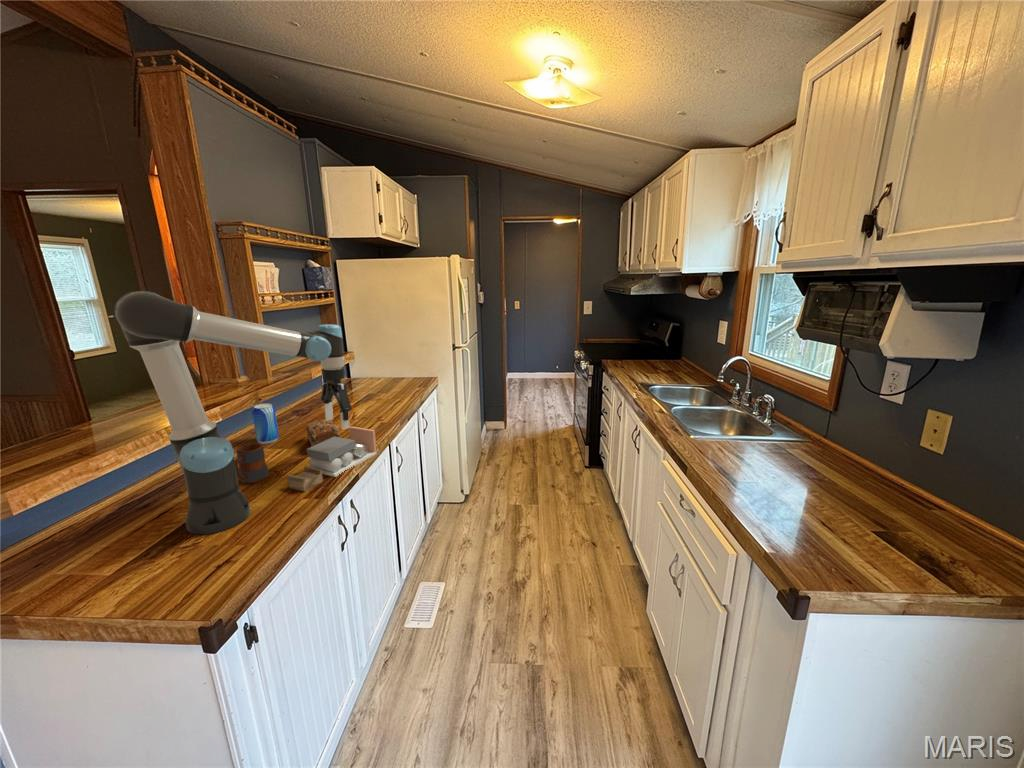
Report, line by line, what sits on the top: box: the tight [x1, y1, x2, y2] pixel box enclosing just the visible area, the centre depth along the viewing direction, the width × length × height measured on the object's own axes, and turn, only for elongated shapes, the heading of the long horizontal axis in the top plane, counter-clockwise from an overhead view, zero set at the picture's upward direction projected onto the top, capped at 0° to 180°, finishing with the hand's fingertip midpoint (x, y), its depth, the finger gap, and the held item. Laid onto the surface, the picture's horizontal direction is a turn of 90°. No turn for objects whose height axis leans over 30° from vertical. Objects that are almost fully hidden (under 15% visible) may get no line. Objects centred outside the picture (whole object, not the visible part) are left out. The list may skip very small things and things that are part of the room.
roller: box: [348, 443, 368, 458], centre depth 159 cm, size 10×5×5 cm, turn 69°
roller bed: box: [309, 425, 378, 478], centre depth 154 cm, size 12×22×10 cm, turn 159°
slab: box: [306, 436, 356, 461], centre depth 149 cm, size 10×13×3 cm
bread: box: [305, 418, 341, 447], centre depth 171 cm, size 19×11×10 cm, turn 33°
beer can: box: [251, 403, 280, 445], centre depth 174 cm, size 8×8×16 cm
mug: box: [234, 442, 269, 484], centre depth 139 cm, size 9×12×12 cm
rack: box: [286, 465, 324, 492], centre depth 138 cm, size 8×7×4 cm
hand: (337, 424), depth 151 cm, fingers open, 13 cm apart
